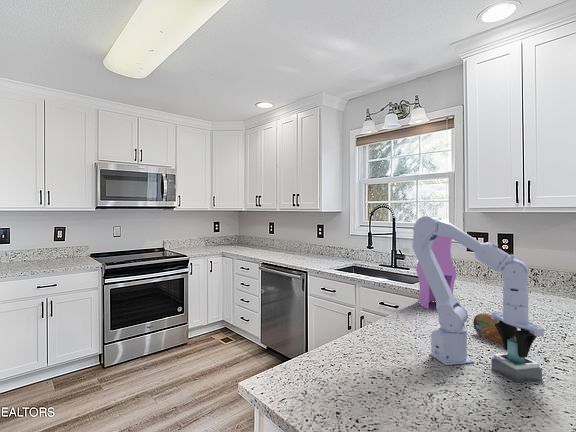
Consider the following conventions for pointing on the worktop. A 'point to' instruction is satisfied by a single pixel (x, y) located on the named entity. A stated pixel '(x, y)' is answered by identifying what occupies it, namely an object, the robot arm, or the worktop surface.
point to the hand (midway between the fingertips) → (515, 353)
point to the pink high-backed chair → (443, 257)
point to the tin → (487, 327)
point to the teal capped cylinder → (513, 351)
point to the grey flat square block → (517, 369)
